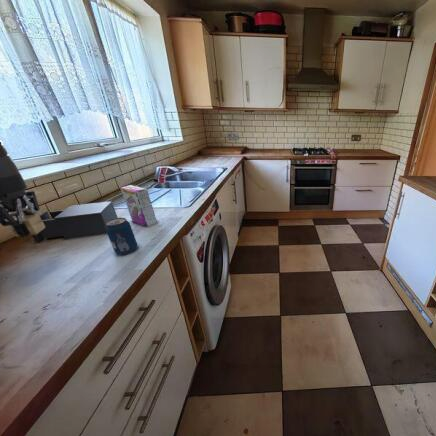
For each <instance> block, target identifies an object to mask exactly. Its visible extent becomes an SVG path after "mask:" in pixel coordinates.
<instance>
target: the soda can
mask: <svg viewBox="0 0 436 436" xmlns="http://www.w3.org/2000/svg"><path fill="white" fill-rule="evenodd" d="M105 230H106V232H107V237H108V239H109V241H110V244H111V246H112V249H113V251H114V252H115V253H116V254H117V255H120V256H125V255H129V254H131V253H134V252H135V251H136V250H137V249H138V242H137V239H136V236H135V233H134V230H133V228H132V225H131V222H130V221H128V220H127V217H118V218H115V219H112V220H109V221H107V222H106V227H105Z"/></svg>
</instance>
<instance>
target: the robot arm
mask: <svg viewBox="0 0 436 436" xmlns="http://www.w3.org/2000/svg"><path fill="white" fill-rule="evenodd" d="M27 188H28V185H27V183H26V182H25V180H24V178H23V175H22V174H21V172H20V170H19V169H18V166H17V165H16V163H15V161H14V160H13V159H12V158H11V156H10V155H9V152H8V151H7V149H6V147H5V145H4V143H3V142H2V140H1V139H0V225H1V226H2V227H10V226H9V225H11V226H13V228H14V229H15V231H16V232H17V234H18V235H19V237H27V236H30V235H29V234H30V232H29V230H28V228H27V227H26V225H25V223H23V219H22V216H26V215H35V214H38V211H40V206H39V205H40V204H39V202H38V198H37V195H36V192H35V191H34V190H30V191H25V190H26V189H27ZM14 217H15V218H16V219H17V220H15V218H14Z"/></svg>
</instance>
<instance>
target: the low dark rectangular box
mask: <svg viewBox="0 0 436 436" xmlns="http://www.w3.org/2000/svg"><path fill="white" fill-rule="evenodd" d="M63 210H64V211H63V212H62V213H60V214H59V215H58V216H56V217H55V218H54V219H55V221H56V223H57V225H58V227H59V228H60V230H61V232H62V234H63V236H62V237H63V238H64V240H71V239H77V238H84V237H85V238H86V237H92V236H99V235H106V234H107V232H106V230H105V227H106V222H107V221H109V220H112V219H115V218H119V217H118V214H117V212H116V209H115V207H114V204H113V201H111V200H110V201H102V202H101V201H100V202H92V203H84V204H83V203H81V204H73V205H70V206H68V207H67V208H65V209H63ZM107 235H108V234H107Z"/></svg>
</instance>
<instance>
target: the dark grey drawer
mask: <svg viewBox="0 0 436 436" xmlns="http://www.w3.org/2000/svg"><path fill="white" fill-rule="evenodd" d="M64 210H65V209H59V210H51V211H49V212H48V210H43V211H41V212H39V213H38V214H39V216H40V218H41V220H42V221H43V223H44V225H45V228H44V229H43V230H42V231H40V232H39V233H38V234H35V235H31V237H32V239H33V241H34V242H39V241H41V240H42V239H44V240H45V239H51V238H59V237H64V236H63V234H62V232H61V230H60V228H59V227H58V225H57V223H56V221H55V219H54V218H55V217H56V216H58V215H59V214H60V213H62V212H63V211H64Z"/></svg>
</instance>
